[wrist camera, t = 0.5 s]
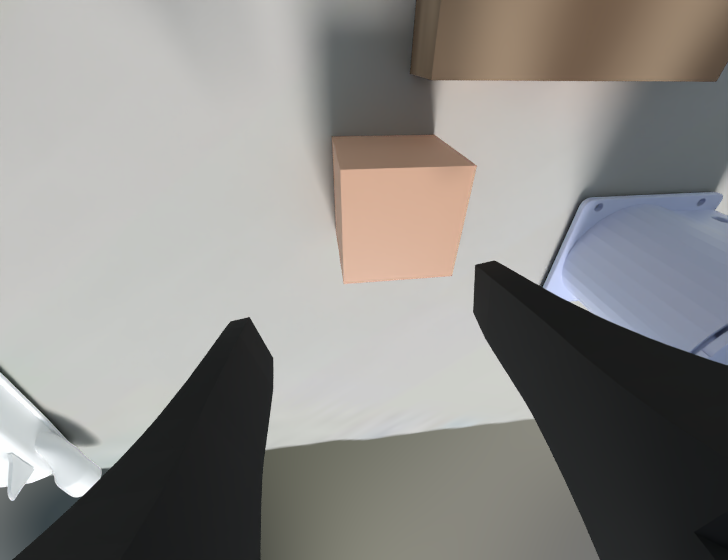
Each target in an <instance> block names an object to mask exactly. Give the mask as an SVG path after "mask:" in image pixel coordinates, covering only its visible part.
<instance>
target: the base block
mask: <svg viewBox="0 0 728 560" xmlns="http://www.w3.org/2000/svg"><path fill="white" fill-rule="evenodd" d="M727 62H728V0H416V10H415V21H414V33H413V44H412V56H411V68H410V74H413V75H416V76H419V77H423V78H426V79H429V80H507V81H699V82H716V81H717V79H718V78H719V76H720V74H721V72H722V71H723V69H724V67H725V66H726V64H727Z"/></svg>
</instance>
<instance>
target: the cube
mask: <svg viewBox="0 0 728 560" xmlns="http://www.w3.org/2000/svg"><path fill="white" fill-rule="evenodd" d="M332 149H333V173H334V196H335V220H336V235H337V242H338V248H339V255H340V262H341V269H342V275H343V282H344V284H350V283H363V282H377V281H391V280H404V279H418V278H431V277H445V276H452V273H453V269H454V264H455V260H456V255H457V251H458V247H459V242H460V238H461V233H462V229H463V224H464V220H465V216H466V211H467V207H468V202H469V198H470V194H471V189H472V185H473V180H474V176H475V171H476V167H477V165H475V164H474V163H472V162H471V161H470V160H468V159H467V158H466V157H464V156H463V155H461V154H460V153H459V152H457V151H456V150H455V149H453V148H452V147H450V146H449V145H448V144H446V143H445V142H444V141H442V140H441V139H439V138H438V137H437V136H435V135H390V136H332Z"/></svg>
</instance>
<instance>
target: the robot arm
mask: <svg viewBox="0 0 728 560" xmlns="http://www.w3.org/2000/svg"><path fill="white" fill-rule="evenodd" d="M722 199H723V195H722V194H720V193H717V192H700V193H678V194H655V195H633V196H610V197H590V198H587V199H585V200H584V201H583V202H582V203H581V204H580V206H579V208H578V210H577V213H576V215H575V217H574V219H573V221H572V224H571V226H570V228H569V230H568V232H567V235H566V237H565V239H564V241H563V244H562V246H561V248H560V250H559V252H558V255H557V257H556V259H555V261H554V263H553V266H552V268H551V270H550V272H549V275H548V277H547V279H546V281H545V283H544V286H543V288H542V287H541V286H539V285H537V284H535V283H533V282H532V281H530V280H528V279H526V278H525V277H523V276H521V275H519V274H518V273H516V272H514V271H512V270H511V269H509V268H507V267H505V266H504V265H502V264H500V263H498V262H496V261H490V262H486V263H482V264H477V265H475V283H474V307H473V313H474V315H475V317H476V319H477V321H478V324H479V326H480V328H481V330H482V332H483V334H484V336H485V339H486V340H487V342H488V344H489V345H490V347H491V348H492V350H493V352H494V353H495V355H496V356H497V358H498V360H499V361H500V363H501V364H502V366H503V368H504V369H505V371H506V372H507V374H508V375H509V377H510V379H511V380H512V382H513V383H514V385H515V387H516V388H517V390H518V391H519V393H520V394H521V396H522V398H523V399H524V401H525V402H526V404H527V406H528V408H529V409H530V411H531V413H532V415H533V417H534V418H535V420H536V422H537V424H538V426H539V428H540V430H541V432H542V434H543V436H544V438H545V440H546V442H547V444H548V446H549V448H550V450H551V452H552V454H553V457H554V458H555V461H556V462H557V464H558V467H559V469H560V471H561V473H562V475H563V477H564V479H565V481H566V484H567V486H568V488H569V490H570V492H571V495H572V497H573V499H574V501H575V503H576V506H577V508H578V510H579V512H580V514H581V516H582V519H583V521H584V523H585V525H586V528H587V530H588V533H589V535H590V537H591V540H592V542H593V544H594V547H595V549H596V551H597V554H598V556H599V558H600V560H728V216H727V215H725V214H723V213H720V212H718V211H715V209H716V208H717V206H718V205H719V204H720V202H721V201H722ZM596 205H597V207H596ZM569 301H580V302H581V303H582V304H583V305H584V306H585V307H586V308H587V309H588V310H589V311H590V312H589V311H587V310H585V309H583V308H580V307H578V306H576V305H574V304H572V303H570V302H569ZM272 394H273V357H272V355H271V354H270V352H269V350H268V348H267V347H266V345H265V343H264V341H263V340H262V338H261V336H260V335H259V333H258V331H257V329H256V328H255V326H254V324H253V322H252V321H251V319H250V317H248V318H244V319H239V320H235V321H231V322H230V323H229V324H228V325H227V327H226V328H225V329H224V331H223V332H222V333H221V335H220V336H219V338H218V339H217V340H216V342H215V343H214V345H213V346H212V347H211V349H210V350H209V351H208V353H207V354H206V356H205V357H204V358H203V360H202V361H201V362H200V364H199V365H198V367H197V368H196V369H195V371H194V372H193V373H192V375H191V376H190V377H189V379H188V380H187V381H186V383H185V384H184V385H183V386H182V388H181V389H180V390H179V391H178V393H177V394H176V395H175V396H174V398H173V399H172V400H171V401H170V403H169V404H168V405H167V406H166V408H165V409H164V410H163V411H162V413H161V414H160V415H159V416H158V417H157V419H156V420H155V421H154V422H153V423H152V424H151V426H150V427H149V428H148V429H147V430H146V431H145V432H144V434H143V435H142V436H141V437H140V438H139V439H138V440H137V441H136V442H135V443H134V444H133V445H132V447H131V448H130V449H129V450H128V451H127V452H126V453H125V454H124V455H123V456H122V457H121V458H120V459H119V460H118V461H117V463H115V464H114V465H113V466H112V467H111V468H110V469H109V470H108V472H106V474H104V475H103V476H102V477H101V478H100V479H99V480H98V481H97V482H96V483H95V484H94V485H93V486H92V487H91V488H90V489H89V490H88V491H87V492H86V493H85V494H84V495H83V496H82V497H81V498H80V499H79V500H78V501H77V502H76V503H75V504H74V505H73V506H72V507H71V508H70V509H69V510H68V511H66V512H65V513H64V514H63V515H62V516H61V517H60V518H59V519H58V520H57V521H56V522H55V523H53V524H52V525H51V526H50V527H49V528H48V529H47V530H46V531H45V532H43V533H42V534H41V535H40V536H39V537H38V538H37V539H36V540H34V541H33V542H32V543H31V544H30V545H29V546H28V547H26V548H25V549H24V550H23V551H22V552H21V553H20V554H18V555H17V556H16V557H15V558H14V559H13V560H260V540H261V496H262V474H263V462H264V454H265V447H266V440H267V432H268V425H269V417H270V410H271V402H272Z"/></svg>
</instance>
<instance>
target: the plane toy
mask: <svg viewBox="0 0 728 560" xmlns="http://www.w3.org/2000/svg"><path fill="white" fill-rule="evenodd" d="M52 472H53V475H54V477H55V482H56V484H57V486H58V487H60V488H61V489H62V490H64V491H65V492H66V493H68V494H69V495H71V496H72V497H80V496H83V495H84V494H85V493H86V492H87V491H88V490H89V489H90V488H91V487H92V486H93V485H94V484H95V483H96V482H97V481H98V480H99V479H100V478H101V468H100V467H99V466H98V465H97V464H96V463H94V462H93V461H92V460H90V459H89V458H87V457H86V456H85V454H84V453H83V452H82V451H81V450H80V449H79V448H78V447H76V446H75V445H73V444H72V443H70V442H69V441H68V440H67V439H66V438H65V437H64V436H63V435H62V434H61V433H60V432H59V431H58V429H57V428H56V427H55V426H54V425H53V424H52V423H51V422H50V421H49V420H48V419H47V418H46V417H45V416H44V415H43V414H42V413H41V412H40V411H39V410H38V409H37V408H36V407H35V406H34V405H33V404H32V403H31V402H30V401H29V400H28V399H27V398H26V397H25V396H24V395H23V394H22V393H21V392H20V391H19V390H18V389H17V388H16V387H15V386H14V385H13V384H12V383H11V382H10V381H9V380H8V379H7V378H6V377H5V376H4V375H3V374H2V373H1V372H0V487H6V486H8V497H9V499H10V500H15V498H16V496H17V495H18V494H19V492H20V491H21V489H22V488H23V486H24V485H25V484H27V483H32V482H34V481H37V480H39V479H42V478H44V477H47V476H49V475H50V474H51V473H52Z"/></svg>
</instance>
